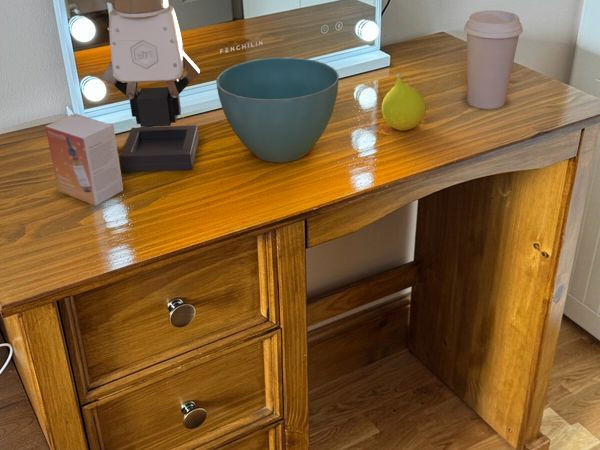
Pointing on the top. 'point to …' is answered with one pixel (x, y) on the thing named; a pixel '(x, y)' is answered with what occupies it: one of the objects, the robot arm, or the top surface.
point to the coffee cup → (490, 56)
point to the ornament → (403, 106)
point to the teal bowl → (278, 104)
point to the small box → (85, 158)
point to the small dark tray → (160, 149)
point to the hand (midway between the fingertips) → (157, 118)
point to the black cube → (154, 107)
